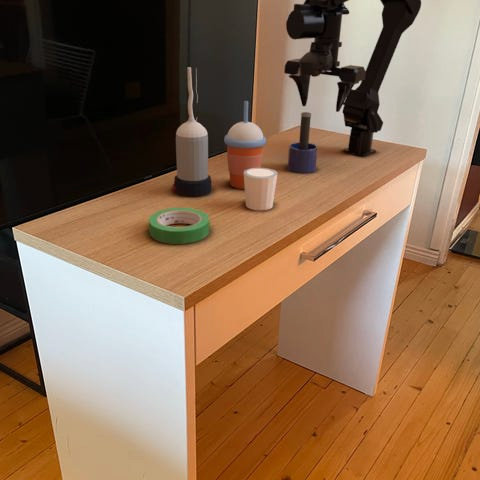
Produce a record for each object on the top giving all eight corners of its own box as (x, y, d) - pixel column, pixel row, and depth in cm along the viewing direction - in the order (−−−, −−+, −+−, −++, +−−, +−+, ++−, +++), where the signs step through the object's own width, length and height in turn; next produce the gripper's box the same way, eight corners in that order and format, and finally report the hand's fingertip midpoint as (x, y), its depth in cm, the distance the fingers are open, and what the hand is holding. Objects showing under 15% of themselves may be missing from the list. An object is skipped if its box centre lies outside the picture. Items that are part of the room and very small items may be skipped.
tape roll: (159, 248, 101) (158, 234, 100) (142, 225, 110) (141, 211, 108) (218, 239, 105) (218, 225, 103) (197, 217, 113) (197, 204, 112)
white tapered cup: (279, 202, 122) (281, 169, 118) (270, 213, 116) (272, 179, 112) (248, 197, 123) (249, 165, 120) (238, 208, 118) (238, 175, 114)
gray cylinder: (301, 164, 142) (305, 111, 136) (308, 166, 141) (313, 113, 134) (295, 166, 141) (299, 113, 134) (302, 168, 140) (307, 114, 133)
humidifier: (166, 190, 126) (160, 66, 113) (193, 181, 131) (191, 62, 118) (191, 199, 122) (188, 72, 108) (219, 190, 127) (219, 67, 113)
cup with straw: (265, 179, 134) (269, 97, 124) (262, 192, 126) (266, 106, 117) (226, 177, 135) (227, 96, 125) (221, 190, 127) (221, 104, 117)
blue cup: (299, 162, 145) (301, 140, 142) (321, 169, 141) (323, 146, 139) (282, 168, 141) (283, 145, 138) (303, 175, 137) (305, 151, 134)
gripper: (273, 36, 130) (270, 108, 138) (348, 44, 121) (339, 120, 129) (298, 32, 138) (294, 101, 146) (370, 39, 129) (361, 112, 137)
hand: (320, 108), depth 139 cm, fingers open, 9 cm apart
